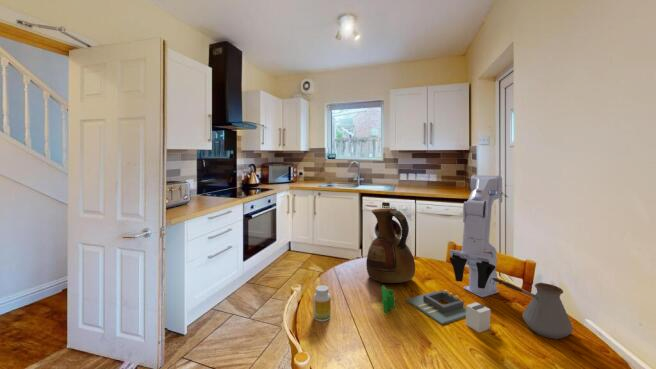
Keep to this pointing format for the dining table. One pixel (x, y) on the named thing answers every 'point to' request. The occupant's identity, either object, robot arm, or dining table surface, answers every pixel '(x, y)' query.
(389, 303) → the pipe clamp
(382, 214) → the ceramic pitcher
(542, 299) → the coffee pot
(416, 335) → the dining table surface
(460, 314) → the header socket
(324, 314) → the supplement bottle
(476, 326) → the plug
